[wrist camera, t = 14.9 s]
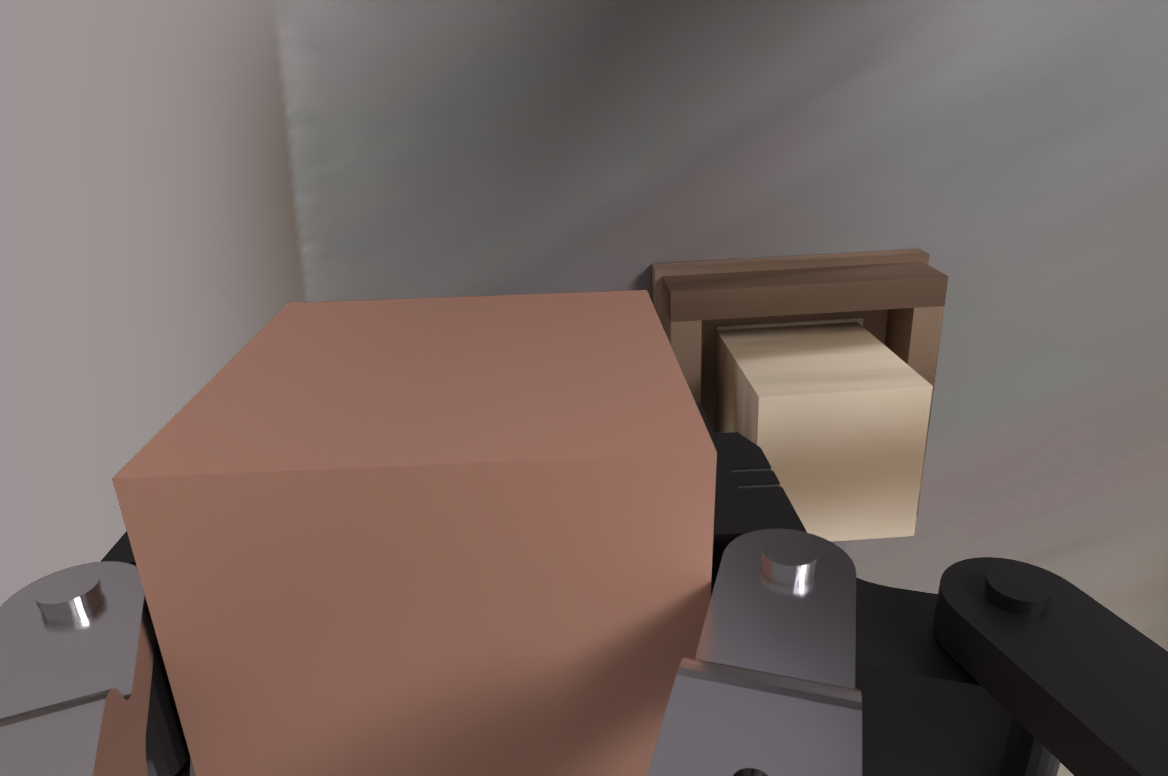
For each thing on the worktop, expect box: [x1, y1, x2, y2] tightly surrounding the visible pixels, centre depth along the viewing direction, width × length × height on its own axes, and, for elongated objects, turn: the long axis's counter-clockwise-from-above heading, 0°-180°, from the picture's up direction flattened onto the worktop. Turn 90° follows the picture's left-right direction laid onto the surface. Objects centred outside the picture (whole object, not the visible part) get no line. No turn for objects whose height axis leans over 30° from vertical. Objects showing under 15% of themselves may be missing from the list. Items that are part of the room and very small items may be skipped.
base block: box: [715, 322, 933, 541], centre depth 27 cm, size 5×5×6 cm
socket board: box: [652, 249, 948, 517], centre depth 29 cm, size 10×10×3 cm
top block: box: [112, 290, 717, 776], centre depth 10 cm, size 5×5×5 cm
